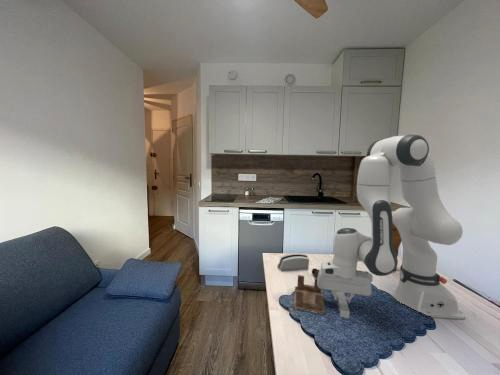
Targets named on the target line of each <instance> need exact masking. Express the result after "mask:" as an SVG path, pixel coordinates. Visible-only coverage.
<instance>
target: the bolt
mask: <svg viewBox="0 0 500 375" xmlns="http://www.w3.org/2000/svg"><path fill="white" fill-rule="evenodd" d="M319 270H320V269H318V268H312V269H311V273H312V275H314V278H317V277H318V272H319Z"/></svg>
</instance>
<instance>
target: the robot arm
mask: <svg viewBox="0 0 500 375" xmlns="http://www.w3.org/2000/svg"><path fill="white" fill-rule="evenodd" d="M394 167H398V169H399V178H400V186H401V193H402V199H403V200H404V201H405V202H406V203H407V204H408V205H409V206H410V207H399V208H397V209H396V210H394V212H393V211H392V206H391V205H392V204H391V172H392V170H393V169H394ZM436 174H437V173H436V168H435V164H434V161H433V158H432V156H431V153H430V147H429V143H428V140H426V138H425V137H423V136H422V135H419V134H407V135H395V136H394V135H393V136H391V137H388V138H384V139H383V138H382V139H378V140H376V141H373V142H372V143H371V144H369V146H368V149H367V151H366V155H365V157H364V158H362V159H361V161H360V164H359V167H358V172H357V178H356V196H357V201H358V203H359V204H360V205H361V206H362V208H364V210H365V211H366V213H367V215H368V216H369V219H370V223H371V236H367V235H365V234H362V233H361V232H359V231H358V230H357V229H356V228H351V227H344V228H340V229H338V230H337V231H336V233H335V237H334V242H333V253H334V254H333V258H332V259H331V260H326V261H322V262H321V264H320V269H318V270H319V272H318V277H317V286H318V288H320V289H321V290H327V291H331V294H333V300H334V301H336V302H337V301H338V299H339V297H338V295H336V291H339V292H344V293H346V294H348V296H347V295H345V297H346V301H347V304H351V300H352V298H354V296H355V295H358V296H365V297H370V296H371V295H372V282H373V278H374V276H373V275H375V276H378V277H383V276H384V277H386V276H389V275H390V274H392V273H393V272H395V271H394V270H395V269H396V267H398V264H399V262H398V261H399V260H398V256H396V254H395V251H394V247H393V224H394V226H395V227H396V228H397V230H398V232H399V234H400V237H401V244H402V259H401V260H402V262H401V263H402V264H401V265H400V268H399V269H400V270H399V274H398V275H399V276H398V277H399V282H398V286H397V288H396V290H395V293H394V296H393V297H394V298H395V300H396V301H397V302H398V301H399V302H400V303H399V302H398V303H399V304H401V303H402V304H405V305H407V306H409V307H411V308H412V309H414V310H417V311H419V312H422V313H424V314H426V315H428V316H431V317H430V318H441V319H455V320H465V319H466V313H465V312H464V311H463V309H462V308H461V307H460V306H459V305H458V300H457V297H456V296H455V295H454V294H453V292H452V291H451V290H449V289H448V288H447V287H446V286H444V285H445V284H447V283H448V280H447V279H446V278H445V277H443V276H441V275H440V274H438V273H437V265H438V255H437V252H436V251H435V250H434V249H433V247H431V245H430V242H431V243H434V244H439V245H445V246H452V245H455V244H456V243H457V242H459V241H460V240H461V238H462V237H463V232H464V231H463V226H462V224H461V223H460V222H459V221H458V220H456V218H455V217H453V216H452V215H451V214H450V213H449V212H448V210H447V209H446V207H445V206H444V204H443V202H442V200H441V197H440V195H439V189H438V184H437V177H436V176H437V175H436ZM392 212H393V213H392ZM358 262H362V263H363V265H365V267H366V268H367V269H368V271H367V270H366V271H365V270H360V269H357V268H358ZM372 274H373V275H372ZM443 284H444V285H443ZM402 304H401V305H402ZM412 309H411V310H412ZM414 310H413V311H414Z"/></svg>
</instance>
